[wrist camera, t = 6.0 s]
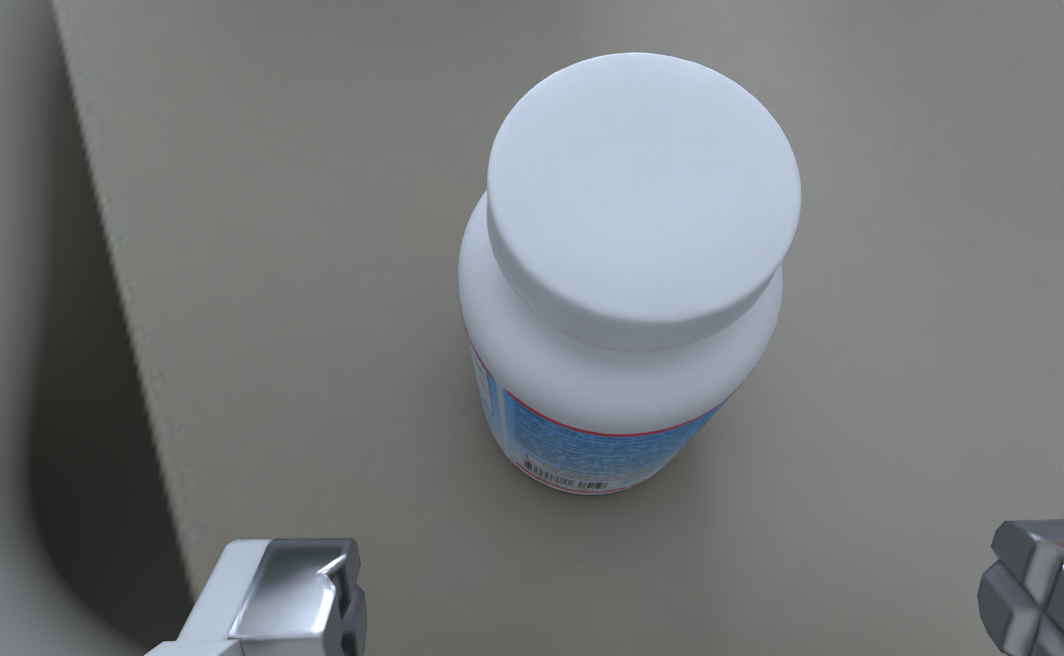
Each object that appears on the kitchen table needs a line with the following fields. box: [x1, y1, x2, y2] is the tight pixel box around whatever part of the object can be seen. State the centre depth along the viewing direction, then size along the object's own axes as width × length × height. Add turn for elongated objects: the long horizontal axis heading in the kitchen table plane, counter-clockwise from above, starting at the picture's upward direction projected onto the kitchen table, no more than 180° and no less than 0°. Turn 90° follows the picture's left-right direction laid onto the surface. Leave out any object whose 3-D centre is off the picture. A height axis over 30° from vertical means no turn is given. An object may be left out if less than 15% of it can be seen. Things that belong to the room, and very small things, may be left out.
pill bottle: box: [458, 52, 801, 495], centre depth 16 cm, size 6×6×11 cm
